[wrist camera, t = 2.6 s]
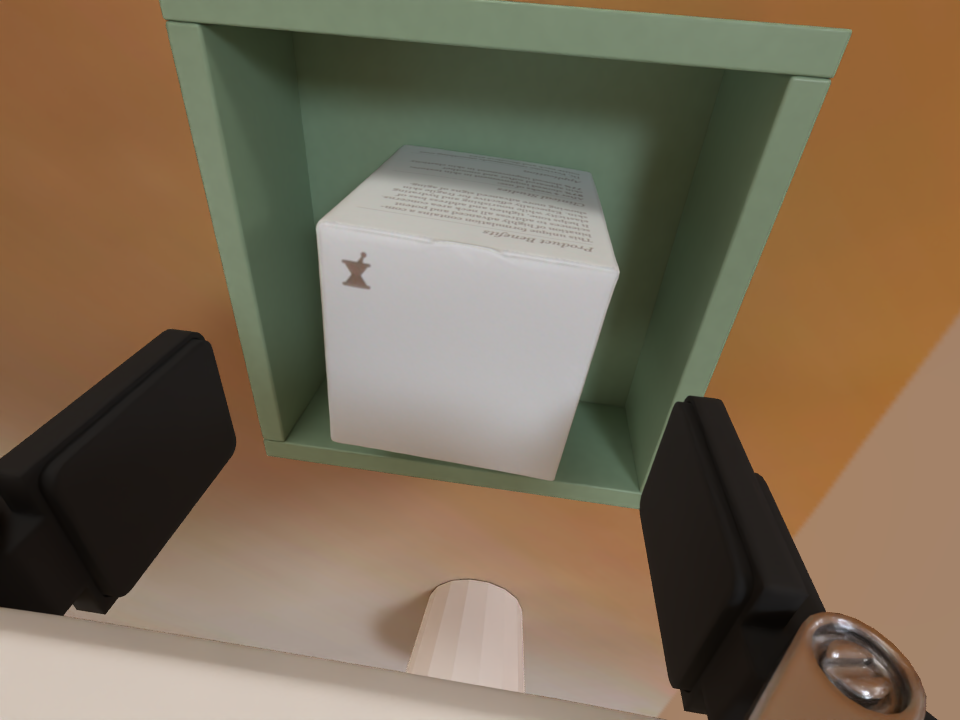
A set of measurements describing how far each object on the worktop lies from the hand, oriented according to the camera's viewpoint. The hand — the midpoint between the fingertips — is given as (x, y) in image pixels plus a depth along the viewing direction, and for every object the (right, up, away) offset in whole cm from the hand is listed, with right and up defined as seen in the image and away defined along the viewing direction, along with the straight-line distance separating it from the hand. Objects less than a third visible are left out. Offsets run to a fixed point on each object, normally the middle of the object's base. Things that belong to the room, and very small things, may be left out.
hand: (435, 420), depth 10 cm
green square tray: (+1, +5, +7) cm, 9 cm away
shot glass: (+1, -14, +20) cm, 24 cm away
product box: (+1, +5, +7) cm, 9 cm away
